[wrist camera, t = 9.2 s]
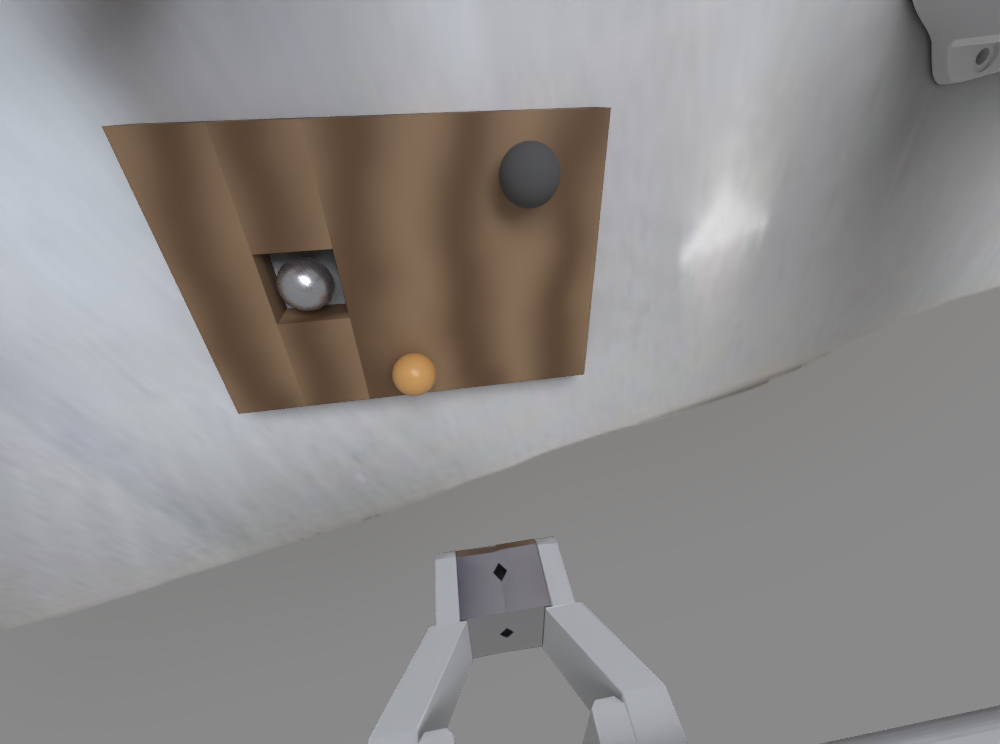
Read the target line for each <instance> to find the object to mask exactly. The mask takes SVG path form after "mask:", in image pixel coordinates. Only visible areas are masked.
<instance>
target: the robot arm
mask: <svg viewBox="0 0 1000 744" xmlns="http://www.w3.org/2000/svg"><path fill="white" fill-rule="evenodd" d="M912 1H913V4H914V7H915V10H916V12H917V14H918V16H919V18H920V19H921V21H922V23H923V24H924V26H925V28H926V29H927V31H928V33H929V36H930V38H931V42H932V72H933V77H934V80H935V82H936V83H937V84H940V85H946V84H953V83H960V82H964V81H968V80H971V79H975V78H978V77H982V76H986V75H989V74H993V73H997V72H1000V0H912ZM434 579H435V625H434V626H429V627H428V629H427V631H426V633H425V635H424V637H423V639H422V641H421V642H420V644H419V646H418V648H417V650H416V652H415V654H414V655H413V658H412V659H411V661H410V663H409V665H408V667H407V669H406V671H405V672H404V674H403V676H402V678H401V680H400V682H399V684H398V686H397V688H396V689H395V691H394V693H393V695H392V697H391V699H390V701H389V703H388V705H387V706H386V708H385V710H384V712H383V714H382V716H381V718H380V719H379V722H378V723H377V725H376V727H375V729H374V731H373V733H372V735H371V736H370V738H369V740H368V744H456V743H455V740H454V735H453V734H451V732H450V731H448V730H447V727H448V725H449V722H450V719H451V717H452V714H453V711H454V709H455V706H456V704H457V701H458V699H459V696H460V693H461V690H462V688H463V686H464V683H465V680H466V678H467V675H468V672H469V670H470V667H471V665H472V662H473V660H472V659H473V658H478V657H483V656H488V655H493V654H497V653H503V652H507V650H508V651H515V650H521V649H528V648H535V647H542V646H543V650H544V651H545V652H546V653H547V655H548V656H549V657H550V659H551V660H552V661H553V663H554V664H555V665H556V667H557V668H558V669H559V671H560V672H561V673H562V675H563V676H564V677H565V679H566V680H567V681H568V683H569V684H570V685H571V686H572V688H573V689H574V690H575V692H576V693H577V694H578V696H579V697H580V698H581V700H582V701H583V702H584V704H585V705H586V706H587V708H588V709H589V710H590V712H591V713H590V716H589V720H588V724H587V728H586V732H585V735H584V739H583V743H582V744H688V742H687V739H686V737H685V734H684V732H683V729H682V727H681V725H680V722H679V720H678V717H677V714H676V712H675V709H674V707H673V704H672V702H671V699H670V697H669V695H668V692H667V689H666V687H665V685H664V684H663V683H662V682H661V681H660V680H659V679H658V678H657V677H656V676H655V675H654V674H653V673H652V672H651V671H650V670H649V669H648V668H647V667H646V666H645V665H644V664H643V663H642V662H641V661H640V660H639V659H638V658H637V657H636V656H635V655H634V654H633V653H632V652H631V651H630V650H629V649H628V648H627V647H626V646H625V645H624V644H623V643H622V642H621V641H620V640H619V639H618V638H617V637H616V636H615V635H614V634H613V633H612V632H611V631H610V630H609V629H608V628H607V627H606V626H605V625H604V624H603V623H602V622H601V621H600V620H599V619H598V618H597V617H596V616H595V615H594V614H593V613H592V612H591V611H590V610H589V609H588V608H587V607H586V606H585V605H584V604H583V603H582V602H575V600H574V597H573V593H572V590H571V586H570V583H569V579H568V576H567V573H566V569H565V566H564V562H563V559H562V556H561V552H560V549H559V545H558V542H557V540H556V539H555V537H554V536H552V537H545V538H539V539H530V540H524V541H518V542H512V543H506V544H500V545H495V546H488V547H482V548H474V549H467V550H461V551H451V552H444V553H438V554H435V560H434ZM821 744H1000V705H999V706H994V707H990V708H985V709H980V710H976V711H971V712H966V713H962V714H957V715H953V716H948V717H943V718H938V719H934V720H929V721H925V722H919V723H915V724H911V725H905V726H901V727H896V728H891V729H887V730H882V731H878V732H873V733H868V734H863V735H859V736H854V737H850V738H845V739H840V740H835V741H831V742H826V743H821Z"/></svg>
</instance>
